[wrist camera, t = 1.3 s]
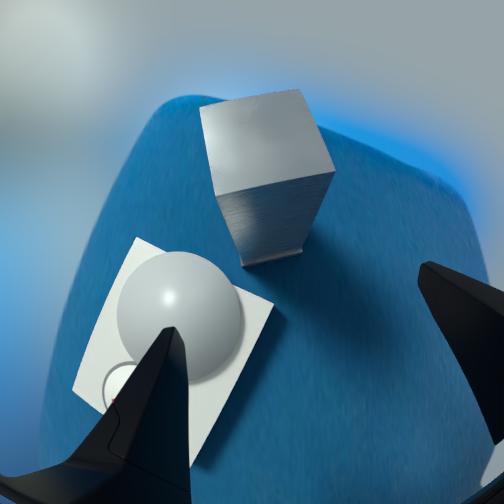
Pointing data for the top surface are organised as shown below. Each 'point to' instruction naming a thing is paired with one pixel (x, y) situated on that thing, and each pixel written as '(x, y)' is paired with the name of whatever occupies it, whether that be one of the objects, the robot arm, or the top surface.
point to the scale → (187, 323)
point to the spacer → (267, 172)
